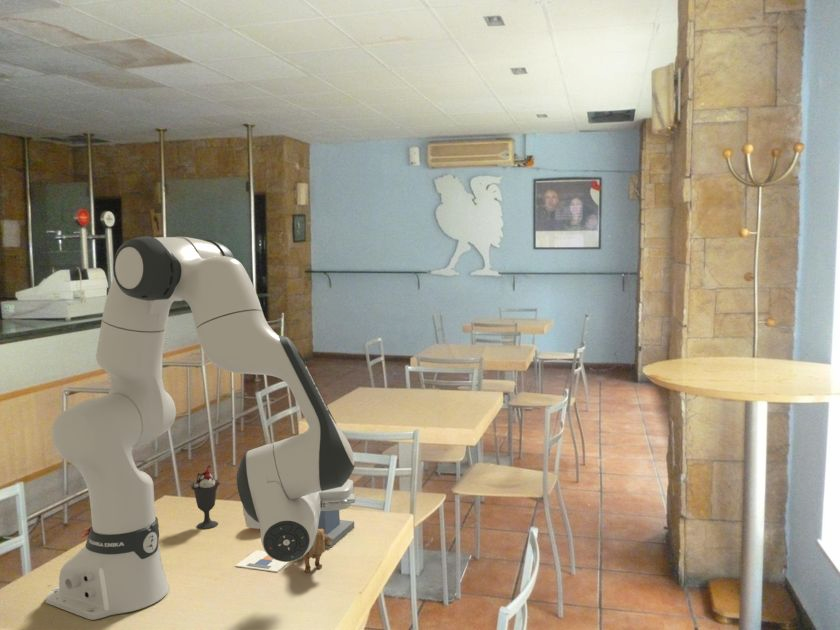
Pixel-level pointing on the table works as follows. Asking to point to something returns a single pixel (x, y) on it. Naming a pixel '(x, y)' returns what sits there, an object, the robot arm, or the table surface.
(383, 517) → the table surface
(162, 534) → the table surface
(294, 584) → the table surface
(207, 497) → the sundae
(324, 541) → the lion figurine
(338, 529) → the tower base
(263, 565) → the page
